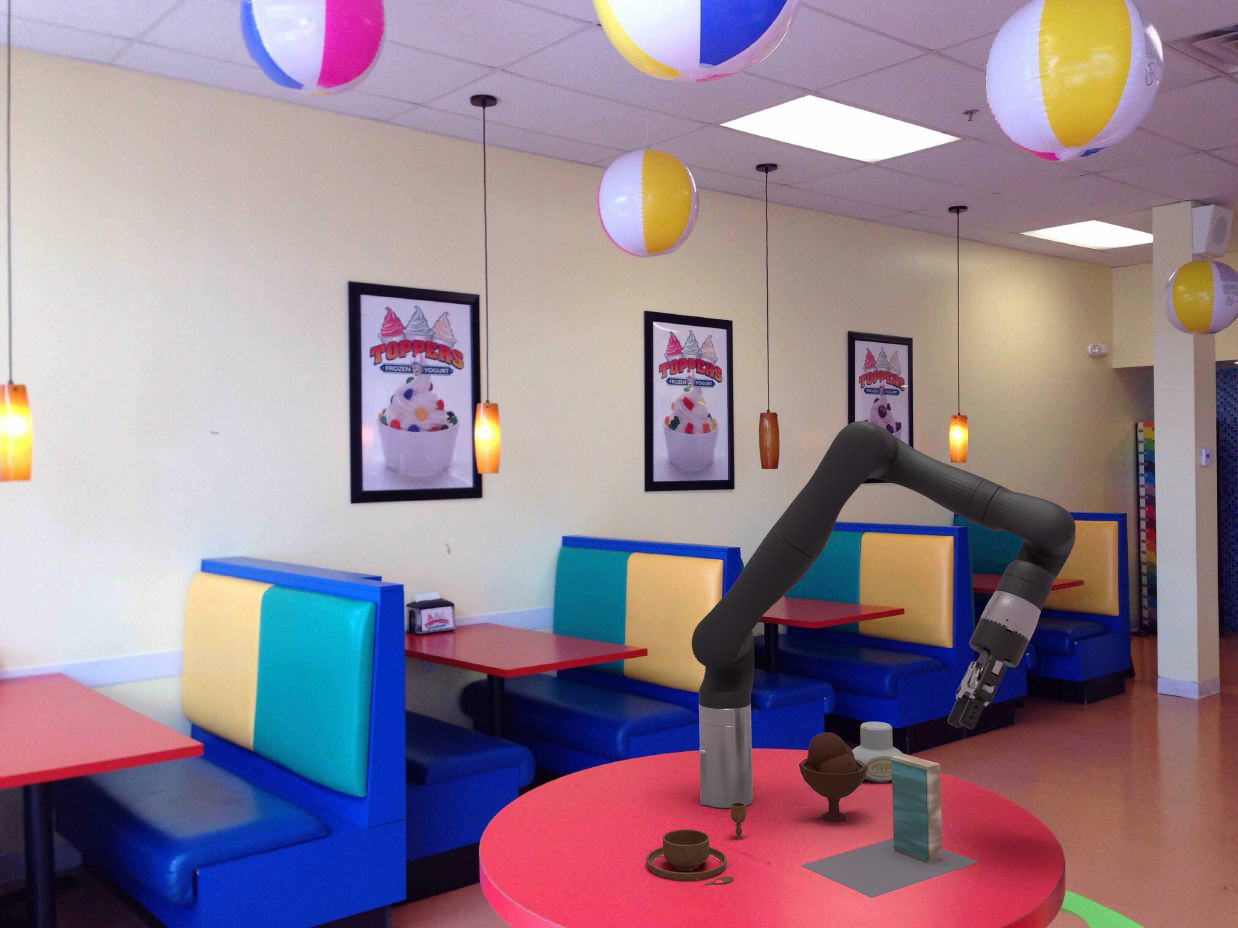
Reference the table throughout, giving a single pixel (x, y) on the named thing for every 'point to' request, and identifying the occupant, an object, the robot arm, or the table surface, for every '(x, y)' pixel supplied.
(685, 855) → the place setting
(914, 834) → the tile
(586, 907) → the table surface
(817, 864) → the mat
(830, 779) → the ice cream bowl
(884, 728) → the air freshener
